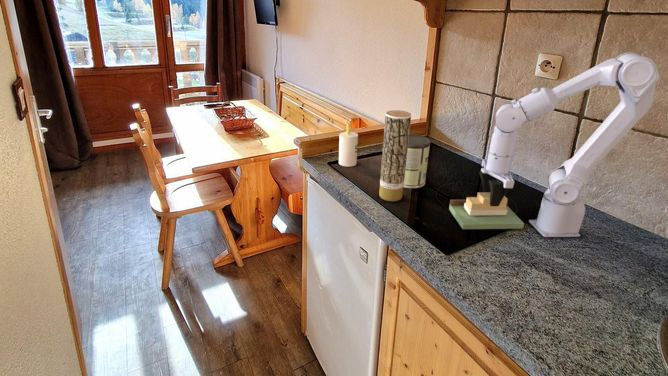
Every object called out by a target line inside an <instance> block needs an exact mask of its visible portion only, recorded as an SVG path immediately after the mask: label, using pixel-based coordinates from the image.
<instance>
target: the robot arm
mask: <svg viewBox="0 0 668 376" xmlns="http://www.w3.org/2000/svg"><path fill="white" fill-rule="evenodd" d="M659 80H660V74H659V71H658V67H657V65H656V63H655V61H654V60H652V59H651V58H649V57H646V56H642V55H640V54H639V53H636V52H629V51H628V52H624V53H621V54H619V55H618V56H616V57H615V58H614V57H612V58H609V59H606V60H604V61H602V62H601V63H598V64H597V65H595V66H593V67H591V68H588V69H586V70H585V71H583V72H582V73H580V74H578V75H575V76H574V77H572V78H570V79H568V80H566V81H564V82H562V83H561V84H558V85H557V86H555V87H553V88H549V87H541V88H538V87H535V88H533V89H532V90H531V93H528V94H527V95H525V96H523V97H521V98H519V99H515V98H514V99H512V100H511V103H506V104H502V105H501V106H500V107H499V108H498V109H497V111H496V113H495V125H494V127H493V133H492V134H491V139H490V145H489V150H488V155H487V158H482V161H481V168H480V171H479V176H480V180H481V185H482V186H481V187H482V192H491V194H490V205H491V206H499V205H500V203H501V201H502V199H503V197H504V196H505V197H506V195H507V193H508V192H509V191H510V190H511V189H514V185H515V180H514V179H513V175H512V171H511V167H512V162H513V159H514V153H515V149H516V145H517V141H518V133H519V132H518V131H519V129H520V128H521V127H522V126H523V123H528V122H531V121H534V120H535V119H537V118H539V117H542V116H544V115H547V114H548V113H551V112H553V111H555V109H556V108H557V105H558V103H559V102H561V101H563V100H566V99H569V98H571V97H573V96H575V95H578V94H580V93H582V92H585V91H587V90H589V89H592V88H594V87H597V86H601V87H617V89H618V90H617V91H618V95H619V99H620V102H619V103H618V105H617V106H615V108H614V109H613V110H612V111H611V112H610V114H608V116H607V117H606V118H605V119H604V120H603V121H602V123H601V124H600V125H599V126H598V127H597V129H596V130H595V131H594V132H593V133H592V134H591V135H590V136H589V138H587V140H586V141H585V142H584V143H583V144H582V145H581V147H579V149H578V151H577V152H575V153H574V154H573V156H572V157H571V158H569V159H567V160H565V161H564V162H563V163H562V164H561V165H559V166H558V167H556V168H554V169H552V170H551V171H550V172H549V173H548V175H547V184H548V186H549V187H548V188H547V189H546V190H545V191H544V193H543V196H542V200H541V203H540V206H539V207H540V208H539V211H538V214H537V218H536V219H529V220H528V223H529V224H530V225H531V226H532V227H533V228H534V229H535V230H536V231H537V232H538V233H539V234H540V235H541V236H542V237H544V238H579V237H581V234H580V229H581V226H582V225H583V224H582V223H583V220H584V218H585V215H586V205H585V203H584V201H583V200H582V199H581V198H580V197H581V195H582V191H583V189H584V187H585V186H586V185H587V184H588V181H589V179H590V175H591V173H592V172H593V171H594V169H596V167H597V166H598V165H599V164H600V163H601V162H602V161H603V160H604V159H605V157H607V156H608V154H610V152H611V151H612V150H613V149H614V148H615V147H616V146H617V144H618V143H619V142H621V140H622V139H623V138H624V137H625V136H626V135H627V134H628V133H629V132H630V131H631V129H632V128H633V127H634V126H635V125H636V124H637V123H638V122H639V121H640V120H641V118H642V117H644V115H646V113H647V112H648V111H649V110H650V108H651V107H652V105H653V100H654V96H655V91H656V86H657V83H658V81H659Z"/></svg>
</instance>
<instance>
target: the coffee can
mask: <svg viewBox="0 0 668 376" xmlns="http://www.w3.org/2000/svg"><path fill="white" fill-rule="evenodd" d="M431 143H432V140H431V139H430V138H428V137H426V136H423V135H419V134H409V141H408V150H407V160H406V169H405V178H404V186H403V188H405V189H420V188H422V187H424V186H425V185H426V179H427V172H428V171H427V169H428V163H429V153H430V146H431Z"/></svg>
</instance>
